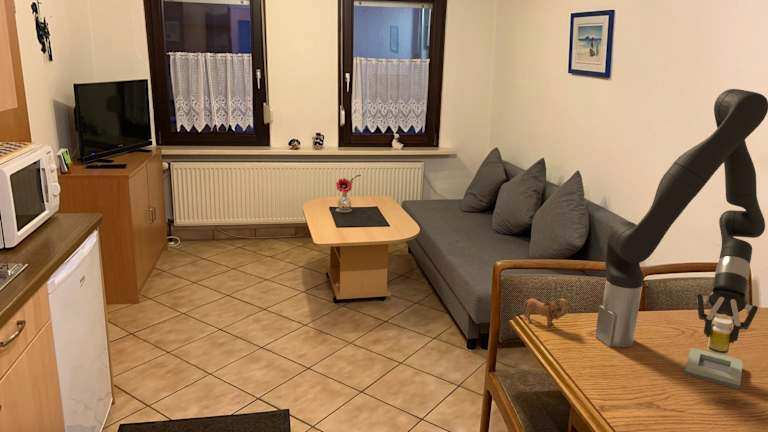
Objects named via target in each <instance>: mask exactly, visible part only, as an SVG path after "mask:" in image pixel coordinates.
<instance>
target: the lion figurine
mask: <svg viewBox="0 0 768 432" xmlns="http://www.w3.org/2000/svg"><path fill="white" fill-rule="evenodd" d="M533 311H535V312H536V313H537V315H539V316H541V317H545V318H546V321H547V324H546V325H547V326H546V327H547V329H548V330H552V329H553V326H554V325H555V324H554V323H553V320H559V319H560V318H561V317H564V316H565V315H567V314H568V312H569V302H567V300H566V299H565V298H559V299H556V300H552V301H549V302H546V303H545V302H541V301H539V300H538V299H536V298H529V299H527V300H526V301H525V303H524V305H523V308H522V310H521V311H520V312H518V313H516V316H517V317H518V316H522V314H524V315H523V316H524V317H526V318H527V319H526V320H527V322H528V323H529V324H532V323H533V320H532V319H531V314H532V313H533Z"/></svg>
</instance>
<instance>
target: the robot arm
mask: <svg viewBox="0 0 768 432" xmlns="http://www.w3.org/2000/svg"><path fill="white" fill-rule="evenodd" d="M713 106H714V107H713V113H714V119H715V124H716V130H715V131H714V132H713V133H711V134H710V136H708V137H707V138H706V139H704V140H702V141H701V142H699V143H698V144H697V145H695V146H693V147H691V148H689V149H688V150H687V151H685V152H683V153H682V154H681V155H680V156H678V157H677V159H676V160H675V161H674V162H673V163H672V165H670V167H669V168H668V170H666V172H665V173H664V174H663V176H662V178H661V179H660V181H659V183H658V186H657V189H656V192H655V195H654V199H653V202H652V204H651V206H650V208H649V210H648V212H647V213H646V214H645V215H644V216H643V217H642V218H641V220H640V221H639V222H638V223H637V224H636V223H634V222H632V221H622V222H619V223H617V224H615V226H614V227H613V228H612V229H611V230H610V232H609V234H608V238H607V243H606V252H605V253H606V254H605V255H606V256H605V266H604V267H605V271H606V277H605V279H606V280H605V285H604V291H603V299H602V305H601V304H600V305H599V306H598V314H597V319H596V320H597V321H596V325H595V326H596V328H595V333H594V335H595V338H596V339H598V340H600V341H601V342H602V343H604V344H605V345H606V346H608V347H617V348H627V347H628V348H629V347H632V345H634V340H635V333H636V328H637V322H638V315H639V309H640V302H641V298H642V297H641V296H642V292H643V291H642V290H643V286H644V285H643V283H644V277H645V276H644V273H643V271H642V269H641V263H642V262H644V261H646V260H647V259H649V258H650V257H651V256H652V254H653V253H654V252H655V250H656V249H657V248H658V246H659V245H660V243H661V241H662V240H663V238H664V237H665V235H666V234H667V232H668V231H669V229H670V228H671V227H672V226H673V224H674V223H675V222H676V220H677V219H678V218H679V217H680V216H681V215H682V213H683V211H684V210H685V209H686V208H687V207H688V205H689V204H690V203H691V202H692V201H693V200H694V199H695V197H696V196H697V195H698V194H699V193H700V191H701V190H702V189H703V188H704V187H705V186H706V184H707V183H708V182H709V180H710V179H711V178H712V177H713V175H714V174H715V173H716V171H718V169H720V167H721V166H722V165H724V166H723V167H724V184H725V185H724V186H725V200H726V202H727V203H728V204H730V205H731V206H736V207H740V208H743V209H744V210H734V209H733V210H731V209H730V210H726V211H724V212H722V213H721V215H720V216H719V222H718V225H719V229H720V230H719V231H720V235H721V249H720V254H719V258H718V259H719V260H718V263H717V265H716V269H715V272H714V278H713V284H712V287H711V288H712V289H711V293H710V294H708V295H703V294H701V293H698V294H697V295H696V296H697V297H696V304H697V315H698V319H699V320H702V321H704V322H705V323H704V328H703V334H704V335H705V337H706V338H709V335H710V330H711V326H712V325H713V321H714V318H715V317H717V315H726V316H728V317H731V321H732V336H731V341H730V344H734V342H737V341H738V339H739V334H740V330H746V331H747V330H748V329H749V327H750V325H751V324H752V322H753V320H754V318H755V316H756V315H757V313H758V310H759V307H758V306H757V305H751V304H748V303H747V301H746V295H747V290H748V284H749V278H750V268H751V260H752V254H753V246H752V245H751V243H750V242H747V241H746V240H743V239H740V238H751V239H752V238H753V239H755V238H759V237H760V236H762V235H763V234H764V232H765V229H766V221H765V217H764V215H763V212H762V210H761V207H760V205H759V201H758V197H757V196H758V193H757V192H758V191H757V173H756V169H755V165H754V162H753V159H752V157H751V154H750V152H749V150H748V147H747V146H748V145H747V143H746V139H747V138H748V137H749V136H750V135H751V134H752V133H753V132H755V130H756V129H757V128H758V127H759V126H760V125H761V124H762V122H763V121H764V120H765V118H766V116H767V114H768V99H767V97H766V96H765V95H763V94H762V93H759V92H754V91H752V90H751V91H750V90H745V89H738V88H731V89H730V88H729V89H726V90H724V91H723V92H721V93H720V94H719V95H718V96H717V98H716V100H715V102H714V105H713ZM736 237H737V238H736ZM707 302H708V303H709V304H710V305H711V309H710V311H709V313H708V314H707V313H705V308H704V307H705V305H706V304H707ZM743 310H746V311H745V312H746V314H747V315H746V318H745V320H744V321H742V322H741V320H740V315H739V313H740V312H741V311H743Z"/></svg>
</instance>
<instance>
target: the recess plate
mask: <svg viewBox="0 0 768 432" xmlns="http://www.w3.org/2000/svg"><path fill="white" fill-rule="evenodd" d="M685 365H686V366H685V369H684V375H685V376H688V377H692V378H697V379H699V380H704V381H707V382H711V383H715V384H718V385H722V386H725V387H728V388H729V387H730V388H733V389H737V390H740V387H741V382H742V371H743V359H739V358H735V357H731V356H727V355H719V354H715V353H712V352H710V351H709V350H708V351H707V350H704V349H699V348H694V347H690V349H689V354H688V356H687V361H686V364H685Z"/></svg>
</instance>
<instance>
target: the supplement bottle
mask: <svg viewBox="0 0 768 432" xmlns="http://www.w3.org/2000/svg"><path fill="white" fill-rule="evenodd" d="M732 330H733V321H732V319H730V318H728V317H724V316H716V317H715V318H714V319H713V322H712V325H711V330H710V335H709V337H708V341H707V346H706V348H707V350H708V352H712V353H715V354H719V355H724V356H726V355H727V354H729V351H730V346H731V345H730V344H731V343H730V341H731V336H732Z"/></svg>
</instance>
